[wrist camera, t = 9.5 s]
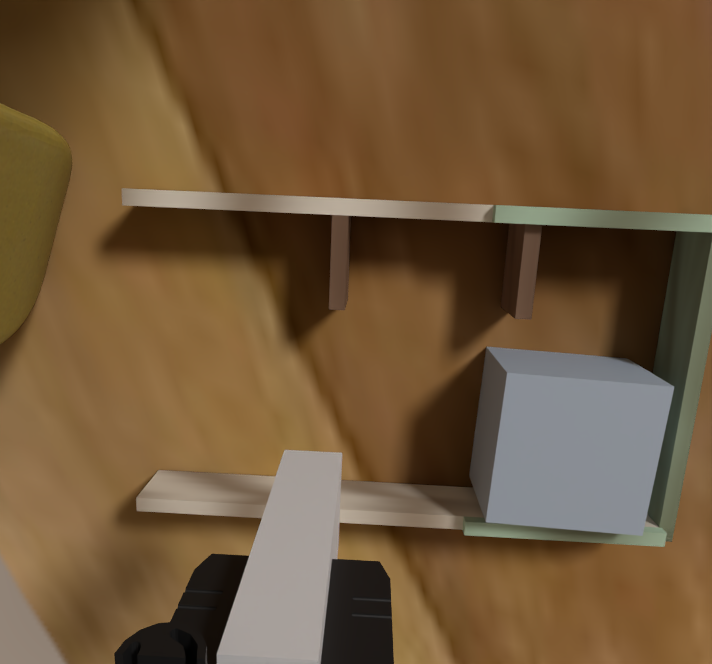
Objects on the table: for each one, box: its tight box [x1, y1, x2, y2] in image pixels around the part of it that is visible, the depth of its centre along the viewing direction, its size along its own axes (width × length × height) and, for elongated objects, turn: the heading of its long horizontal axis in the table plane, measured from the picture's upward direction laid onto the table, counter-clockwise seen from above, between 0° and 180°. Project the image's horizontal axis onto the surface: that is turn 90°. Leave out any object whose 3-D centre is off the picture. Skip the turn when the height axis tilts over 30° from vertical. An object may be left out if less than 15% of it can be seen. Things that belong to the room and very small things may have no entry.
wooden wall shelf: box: [122, 188, 712, 547], centre depth 23 cm, size 22×13×3 cm, turn 87°
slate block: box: [469, 347, 674, 536], centre depth 23 cm, size 6×6×4 cm
